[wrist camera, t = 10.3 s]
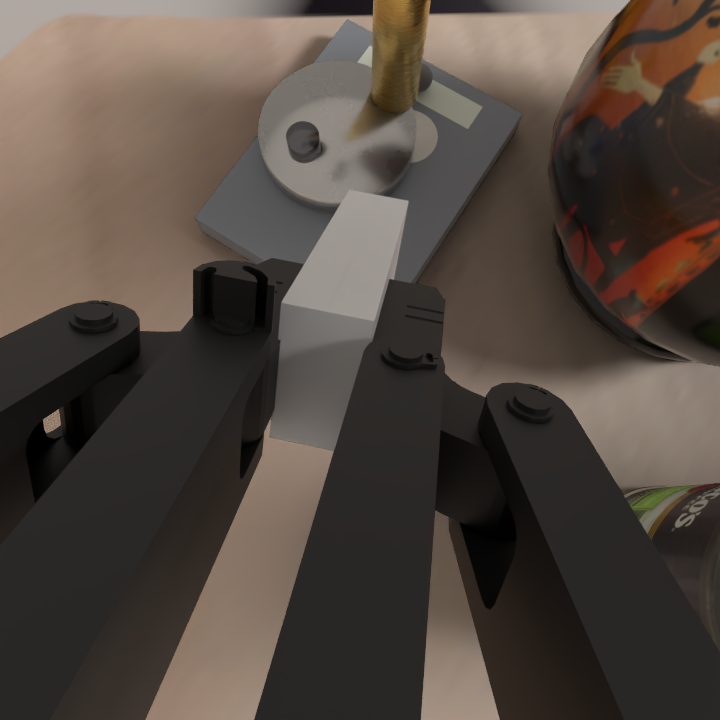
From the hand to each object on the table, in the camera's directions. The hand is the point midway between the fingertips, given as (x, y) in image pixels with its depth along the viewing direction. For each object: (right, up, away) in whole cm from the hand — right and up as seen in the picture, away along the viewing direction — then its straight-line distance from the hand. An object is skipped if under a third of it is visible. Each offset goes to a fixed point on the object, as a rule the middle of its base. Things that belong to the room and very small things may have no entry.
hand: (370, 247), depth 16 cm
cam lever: (-1, +12, +25) cm, 28 cm away
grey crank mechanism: (0, +9, +27) cm, 28 cm away
